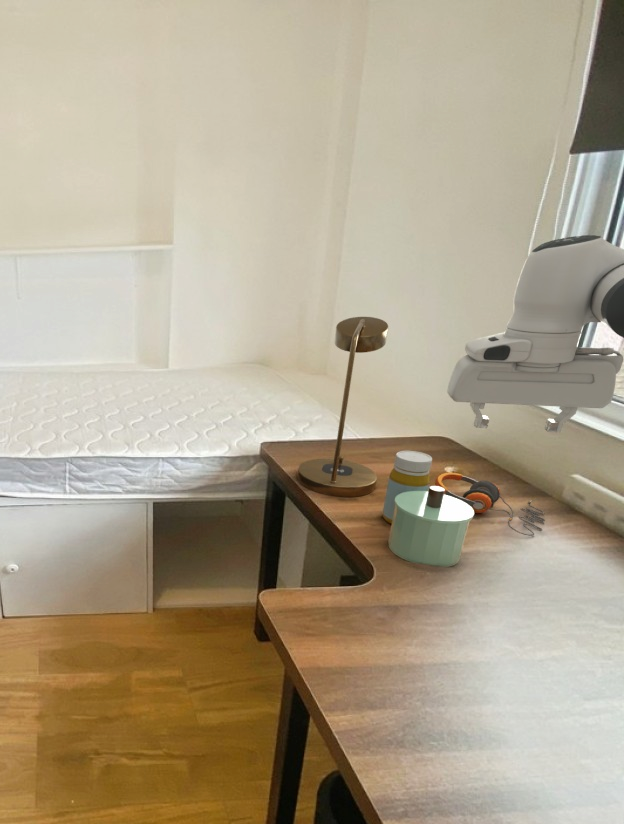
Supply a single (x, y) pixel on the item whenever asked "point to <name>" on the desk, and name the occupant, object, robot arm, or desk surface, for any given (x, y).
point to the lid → (434, 506)
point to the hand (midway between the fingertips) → (515, 429)
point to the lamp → (337, 472)
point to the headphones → (485, 498)
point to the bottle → (406, 478)
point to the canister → (426, 540)
